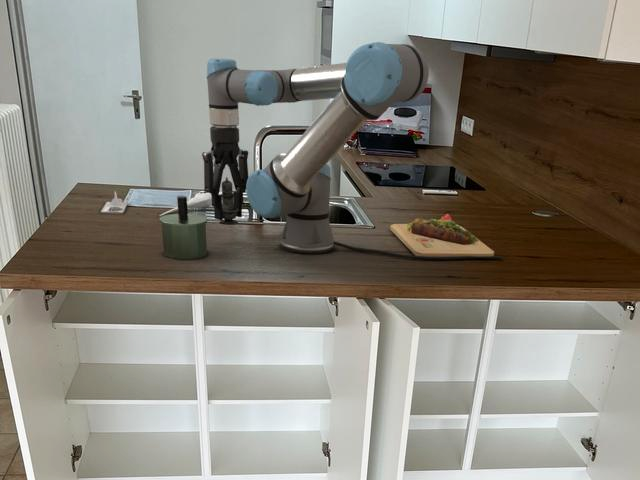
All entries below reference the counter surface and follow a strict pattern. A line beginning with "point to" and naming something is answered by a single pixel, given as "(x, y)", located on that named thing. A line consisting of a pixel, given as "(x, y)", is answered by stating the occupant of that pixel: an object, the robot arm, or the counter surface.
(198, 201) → the dinosaur
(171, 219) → the pot lid
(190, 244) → the pot
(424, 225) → the cutting board
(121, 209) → the car cutout
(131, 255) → the counter surface
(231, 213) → the dark grey tall piece
